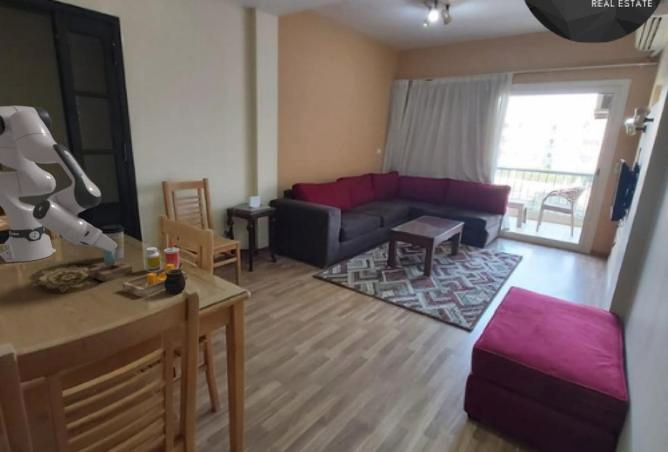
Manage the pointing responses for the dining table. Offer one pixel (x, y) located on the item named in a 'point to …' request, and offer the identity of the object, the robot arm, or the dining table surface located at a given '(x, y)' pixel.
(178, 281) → the mate gourd
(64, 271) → the dining table surface
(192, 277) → the dining table surface
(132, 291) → the clamp corral
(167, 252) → the beverage cup
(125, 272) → the socket block
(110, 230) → the coffee cup
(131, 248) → the dining table surface
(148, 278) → the pipe clamp
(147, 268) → the supplement bottle
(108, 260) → the peg
